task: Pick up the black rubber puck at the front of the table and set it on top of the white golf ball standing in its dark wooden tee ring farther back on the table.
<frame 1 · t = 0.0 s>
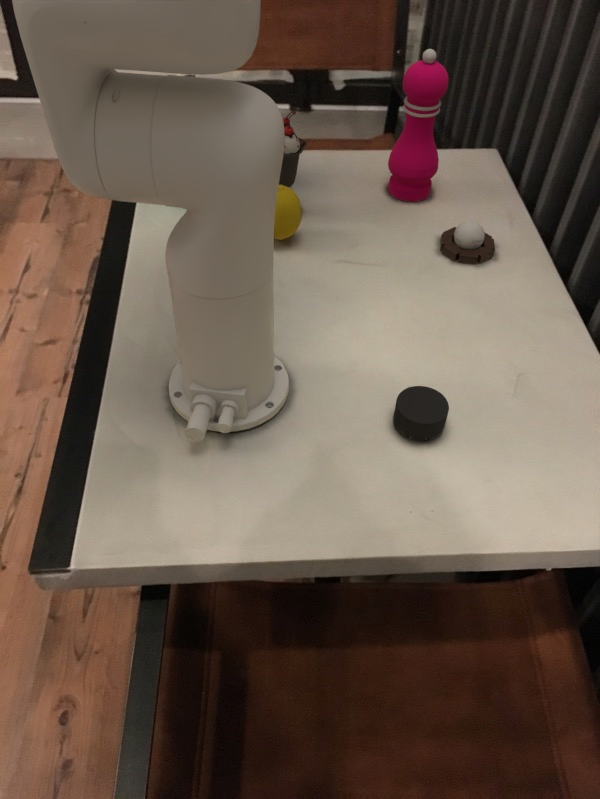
puck: (418, 424, 70), on the table
tee ring: (466, 248, 92), on the table
sundae: (280, 212, 98), on the table
pepper mill: (408, 192, 102), on the table
golf ball: (465, 249, 92), resting in tee ring
lemon: (280, 240, 93), on the table
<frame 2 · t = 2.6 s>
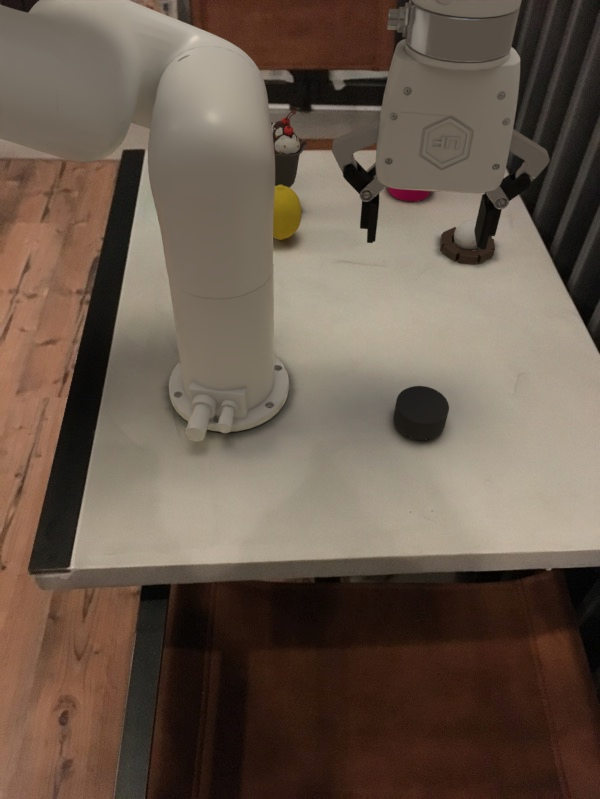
hand: (425, 237, 61), 18 cm above the table, tool pointing down, fingers open, 9 cm apart
nothing on the table moved.
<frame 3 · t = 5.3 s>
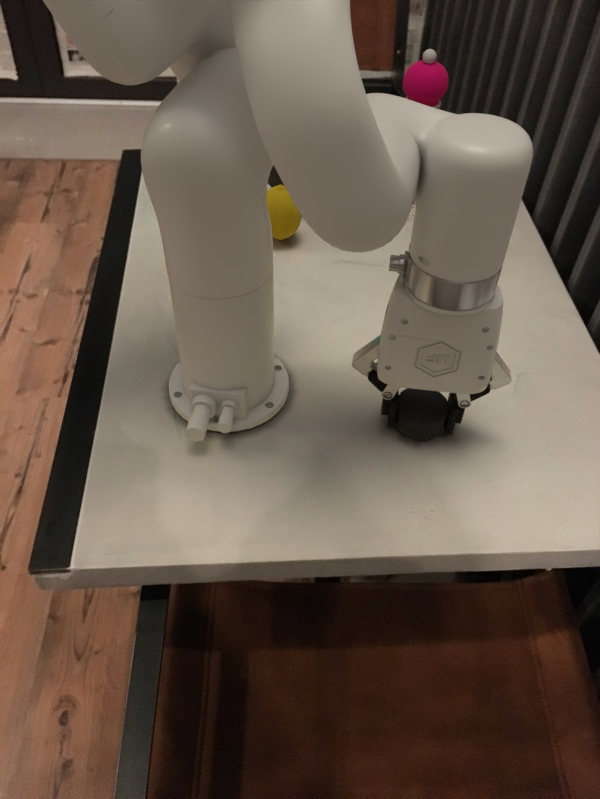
hand: (419, 420, 69), 1 cm above the table, tool pointing down, fingers closed on puck, 5 cm apart
puck: (418, 424, 70), on the table, touching gripper
everything else where it was.
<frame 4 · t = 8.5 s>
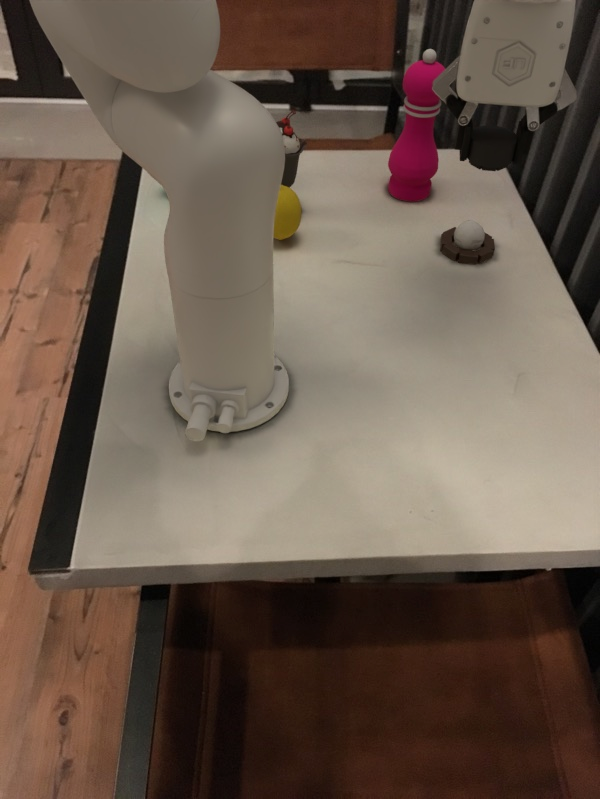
hand: (489, 156, 77), 16 cm above the table, tool pointing down, fingers closed on puck, 5 cm apart
puck: (488, 161, 77), point 15 cm above the table, touching gripper
everything else where it was.
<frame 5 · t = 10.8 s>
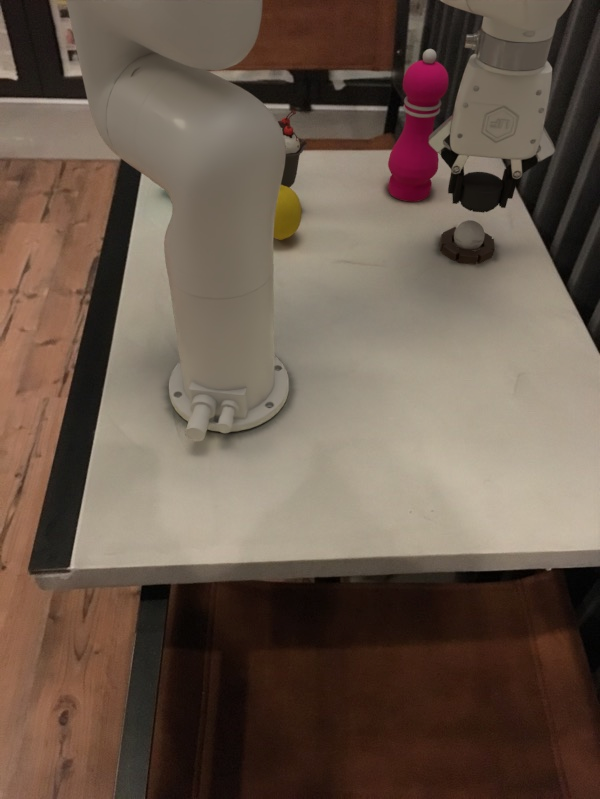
hand: (478, 198, 87), 7 cm above the table, tool pointing down, fingers closed on puck, 5 cm apart
puck: (477, 203, 87), point 7 cm above the table, touching gripper
everything else where it was.
when the fingers open (4 cm above the table, at t = 12.1 s): puck stays where it is, resting on golf ball.
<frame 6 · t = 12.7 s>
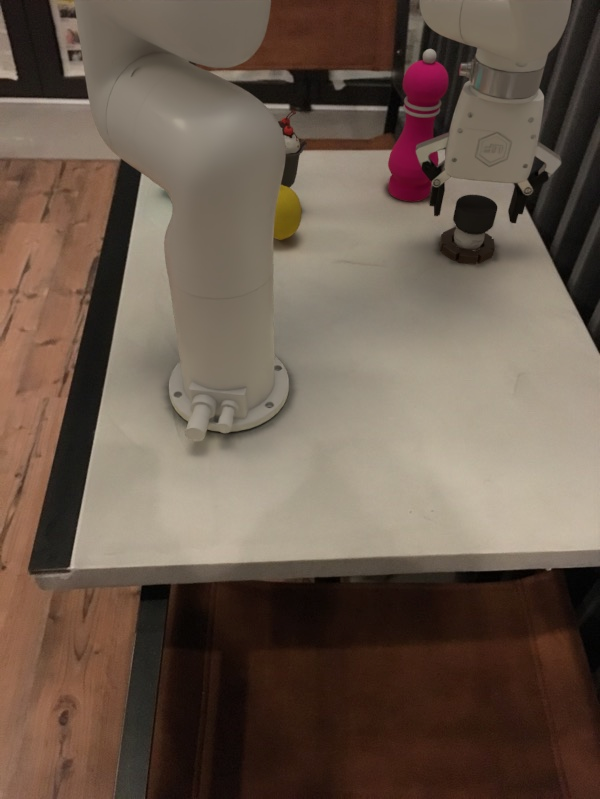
hand: (473, 214, 88), 5 cm above the table, tool pointing down, fingers open, 9 cm apart
puck: (472, 225, 90), point 4 cm above the table, touching golf ball
golf ball: (465, 249, 92), resting in tee ring, touching puck
everything else where it was.
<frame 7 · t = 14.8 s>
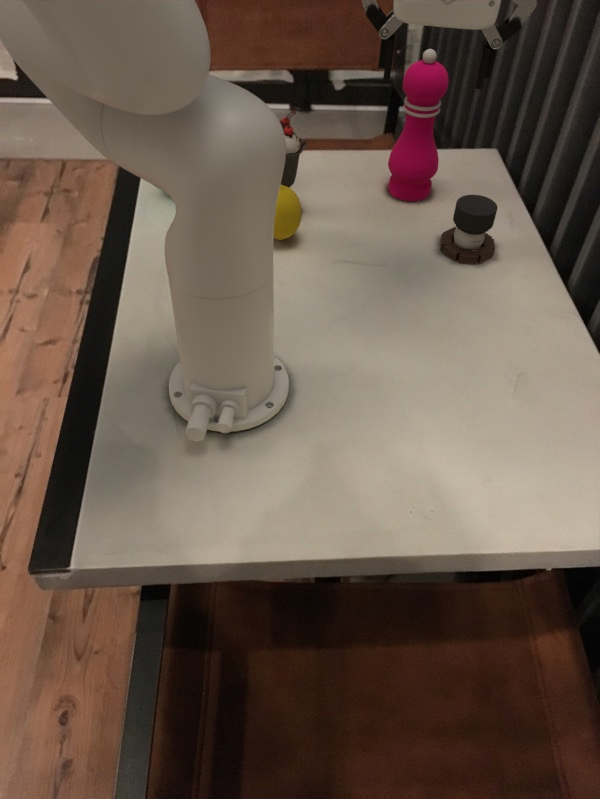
hand: (432, 80, 73), 23 cm above the table, tool pointing down, fingers open, 9 cm apart
nothing on the table moved.
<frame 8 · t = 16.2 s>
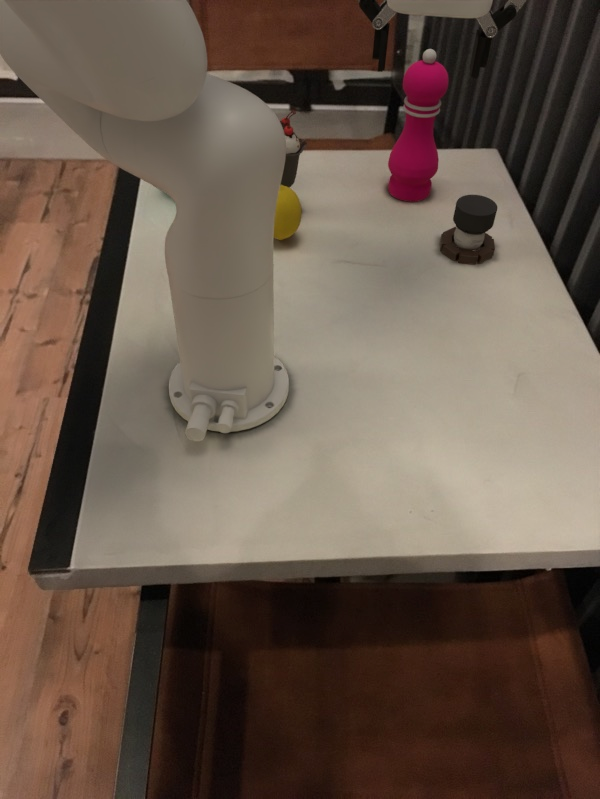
hand: (427, 70, 72), 24 cm above the table, tool pointing down, fingers open, 9 cm apart
nothing on the table moved.
at the end: puck 0.1 cm off-centre on the tee ring, point 3.6 cm above the tee ring's base; puck touching golf ball; puck tilted 0° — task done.
